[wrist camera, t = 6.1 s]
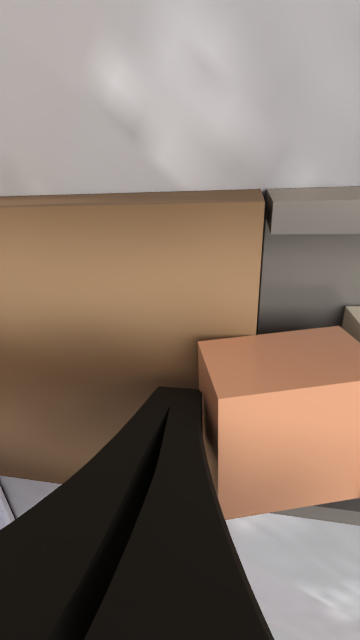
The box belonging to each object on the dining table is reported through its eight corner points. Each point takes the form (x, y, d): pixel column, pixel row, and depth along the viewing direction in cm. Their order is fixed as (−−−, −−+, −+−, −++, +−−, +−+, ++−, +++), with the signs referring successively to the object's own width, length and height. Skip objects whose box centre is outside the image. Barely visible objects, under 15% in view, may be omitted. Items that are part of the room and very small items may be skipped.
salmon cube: (319, 432, 12) (363, 497, 10) (200, 449, 12) (218, 521, 9) (338, 325, 10) (400, 375, 8) (197, 341, 10) (218, 399, 7)
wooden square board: (244, 451, 16) (244, 509, 14) (24, 427, 18) (-14, 473, 16) (260, 189, 11) (265, 201, 8) (-55, 197, 13) (-132, 210, 10)
